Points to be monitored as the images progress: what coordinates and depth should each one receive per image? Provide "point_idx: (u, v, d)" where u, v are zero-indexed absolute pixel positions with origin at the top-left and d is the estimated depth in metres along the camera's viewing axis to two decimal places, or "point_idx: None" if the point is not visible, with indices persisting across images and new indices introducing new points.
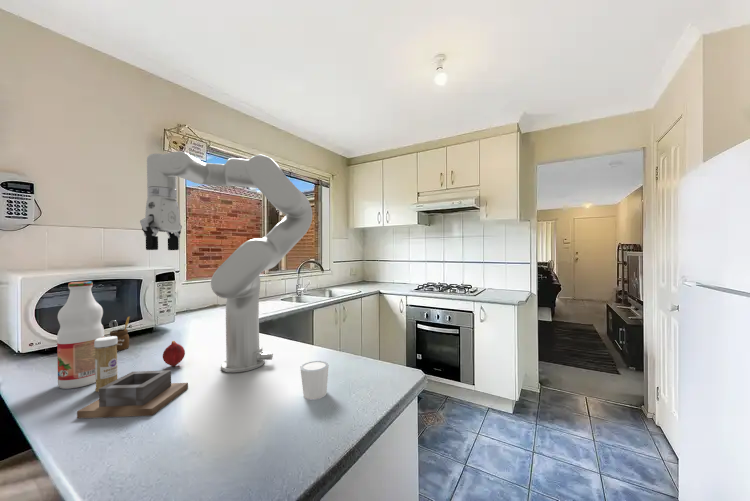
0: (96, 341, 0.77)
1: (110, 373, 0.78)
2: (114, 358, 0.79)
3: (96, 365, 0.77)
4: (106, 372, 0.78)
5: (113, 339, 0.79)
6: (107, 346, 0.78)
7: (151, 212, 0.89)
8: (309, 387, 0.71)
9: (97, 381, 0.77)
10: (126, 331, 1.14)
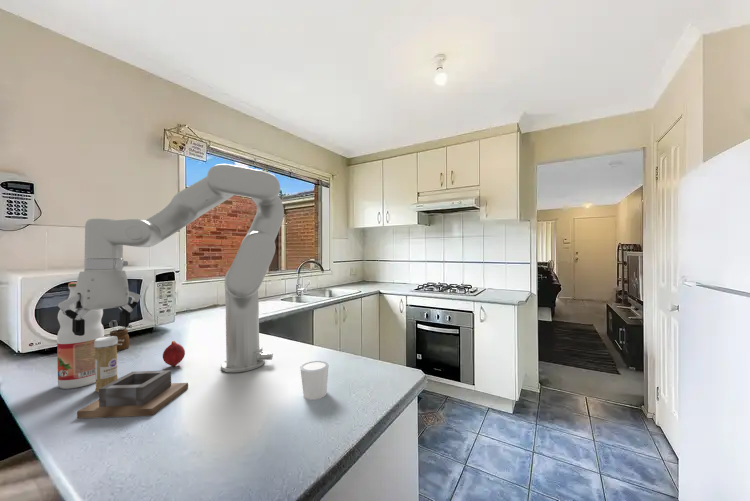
0: (96, 341, 0.77)
1: (110, 373, 0.78)
2: (114, 358, 0.79)
3: (96, 365, 0.77)
4: (106, 372, 0.78)
5: (113, 339, 0.79)
6: (107, 346, 0.78)
7: None
8: (309, 387, 0.71)
9: (97, 381, 0.77)
10: (126, 331, 1.14)
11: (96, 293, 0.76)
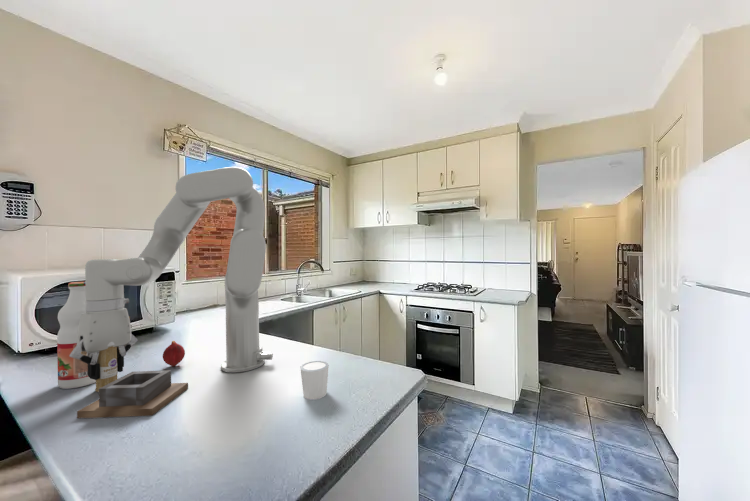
0: None
1: (110, 373, 0.78)
2: (114, 358, 0.79)
3: None
4: (106, 372, 0.78)
5: None
6: None
7: None
8: (309, 387, 0.71)
9: (97, 381, 0.77)
10: None
11: (98, 335, 0.76)
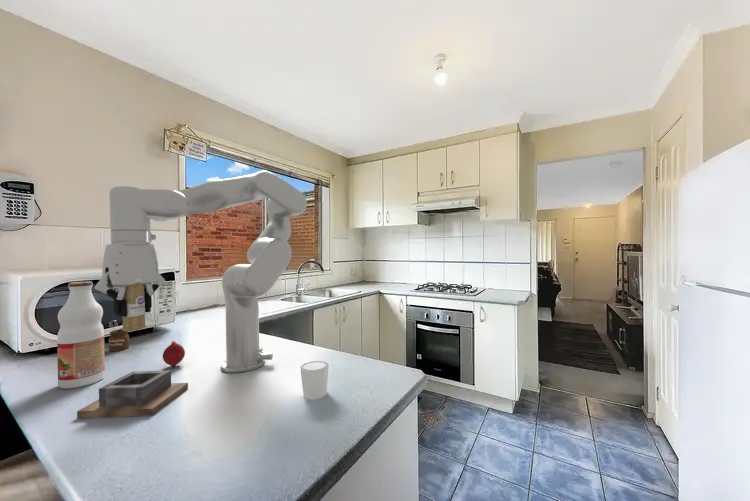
0: None
1: (138, 311, 0.72)
2: (141, 296, 0.73)
3: None
4: (133, 310, 0.71)
5: None
6: None
7: None
8: (309, 387, 0.71)
9: (124, 319, 0.71)
10: (126, 331, 1.14)
11: (125, 267, 0.69)
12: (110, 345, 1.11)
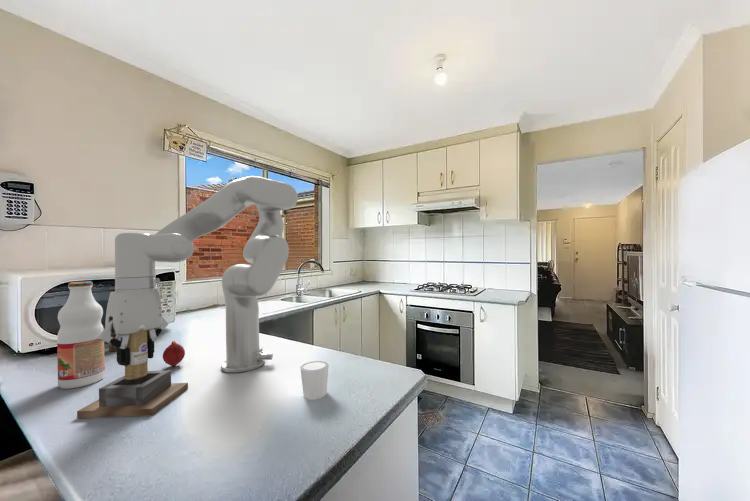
0: None
1: (141, 359, 0.71)
2: (145, 342, 0.72)
3: None
4: (136, 358, 0.70)
5: None
6: None
7: None
8: (309, 387, 0.71)
9: (126, 368, 0.69)
10: None
11: (129, 316, 0.68)
12: (110, 345, 1.11)
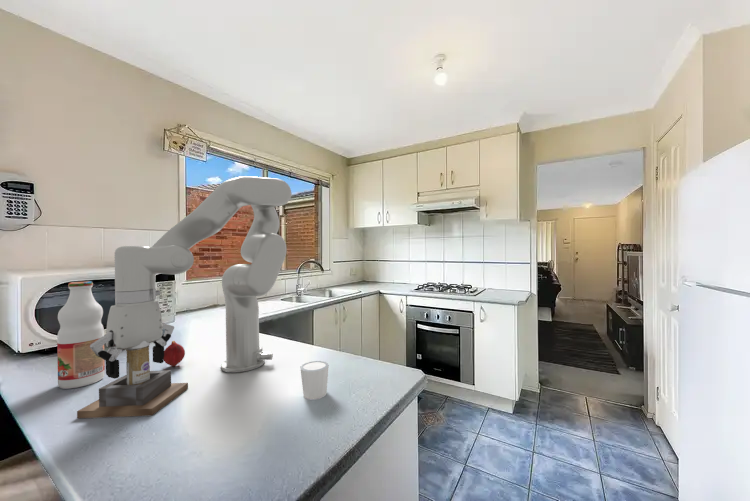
0: None
1: (143, 377, 0.71)
2: (147, 361, 0.72)
3: (128, 369, 0.70)
4: (139, 377, 0.70)
5: None
6: (140, 348, 0.71)
7: None
8: (309, 387, 0.71)
9: None
10: None
11: (130, 329, 0.68)
12: None
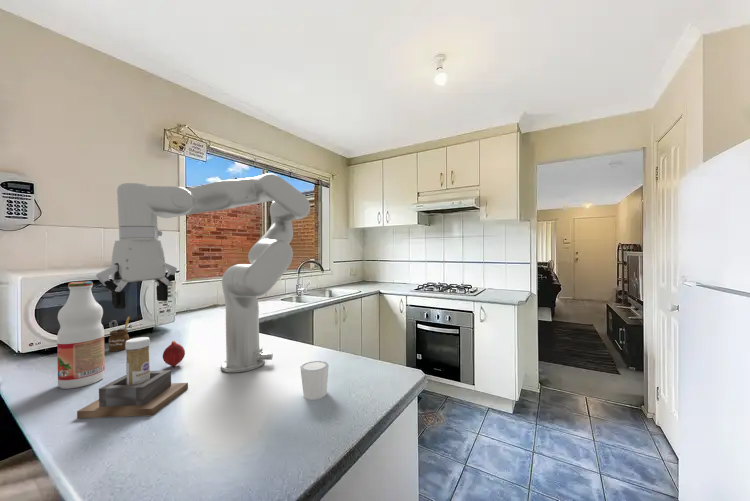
0: (128, 343, 0.70)
1: (143, 378, 0.71)
2: (147, 361, 0.72)
3: (128, 369, 0.70)
4: (139, 377, 0.70)
5: (146, 340, 0.72)
6: (140, 348, 0.70)
7: None
8: (309, 387, 0.71)
9: None
10: (126, 331, 1.14)
11: (134, 263, 0.71)
12: (110, 345, 1.11)
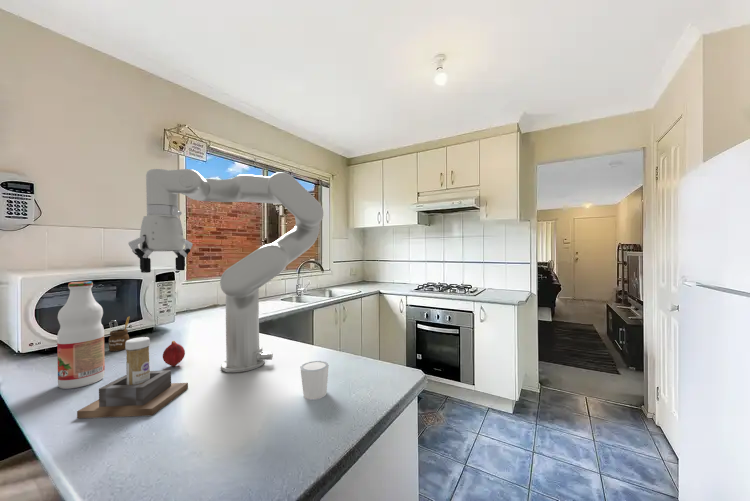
0: (128, 343, 0.70)
1: (143, 378, 0.71)
2: (147, 361, 0.72)
3: (128, 369, 0.70)
4: (139, 377, 0.70)
5: (146, 340, 0.72)
6: (140, 348, 0.70)
7: None
8: (309, 387, 0.71)
9: None
10: (126, 331, 1.14)
11: (159, 235, 0.84)
12: (110, 345, 1.11)
